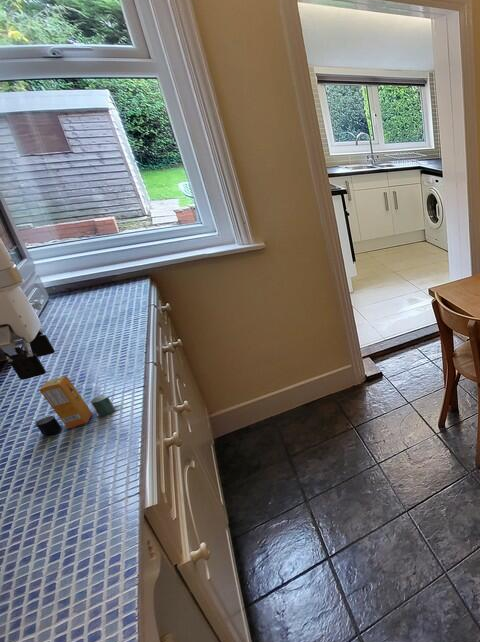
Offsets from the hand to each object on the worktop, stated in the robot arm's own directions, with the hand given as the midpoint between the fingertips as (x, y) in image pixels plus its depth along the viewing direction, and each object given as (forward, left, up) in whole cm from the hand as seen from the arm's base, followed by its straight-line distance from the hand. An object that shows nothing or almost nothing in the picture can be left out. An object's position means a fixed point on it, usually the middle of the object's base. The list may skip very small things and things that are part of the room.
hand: (39, 365), depth 77 cm
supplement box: (0, 0, -14) cm, 14 cm away
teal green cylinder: (+3, +4, -14) cm, 15 cm away
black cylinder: (-2, -3, -14) cm, 14 cm away
